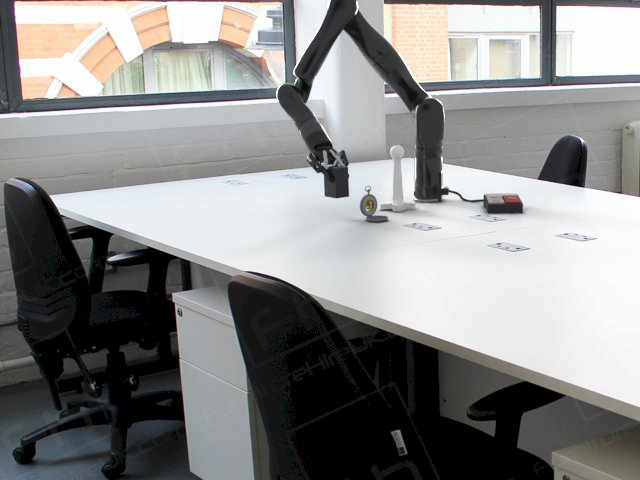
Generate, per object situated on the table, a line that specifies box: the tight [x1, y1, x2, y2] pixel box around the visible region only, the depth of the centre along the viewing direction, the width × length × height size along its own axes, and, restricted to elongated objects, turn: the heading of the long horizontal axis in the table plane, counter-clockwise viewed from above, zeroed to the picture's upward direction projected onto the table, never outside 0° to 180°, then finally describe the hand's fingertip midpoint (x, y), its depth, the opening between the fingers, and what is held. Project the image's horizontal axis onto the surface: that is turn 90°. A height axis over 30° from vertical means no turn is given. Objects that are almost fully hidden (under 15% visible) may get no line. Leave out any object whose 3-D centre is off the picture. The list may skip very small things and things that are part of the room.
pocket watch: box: [359, 185, 389, 223], centre depth 316 cm, size 8×8×10 cm
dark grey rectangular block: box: [323, 165, 350, 199], centre depth 324 cm, size 6×5×9 cm
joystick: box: [379, 144, 417, 213], centre depth 330 cm, size 11×8×20 cm
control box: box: [482, 192, 524, 215], centre depth 331 cm, size 11×4×15 cm
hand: (339, 180), depth 323 cm, fingers closed on dark grey rectangular block, 5 cm apart
